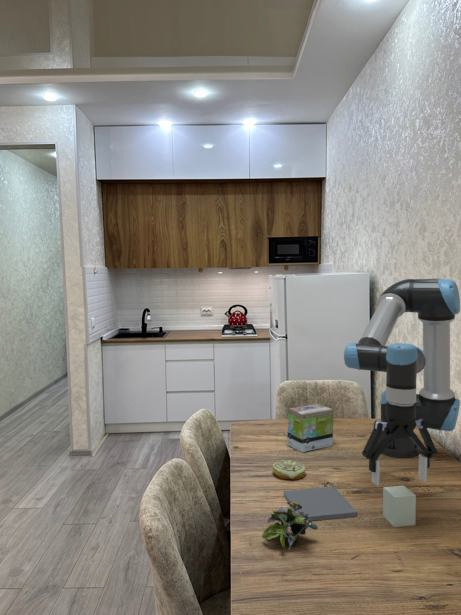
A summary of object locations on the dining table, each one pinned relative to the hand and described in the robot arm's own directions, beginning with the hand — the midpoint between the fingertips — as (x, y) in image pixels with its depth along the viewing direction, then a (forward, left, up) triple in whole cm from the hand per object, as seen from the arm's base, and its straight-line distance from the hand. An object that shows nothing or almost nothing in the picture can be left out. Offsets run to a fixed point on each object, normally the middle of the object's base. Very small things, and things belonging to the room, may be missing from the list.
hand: (399, 481), depth 125 cm
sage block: (0, 0, -11) cm, 11 cm away
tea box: (+4, -58, -11) cm, 59 cm away
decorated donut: (+20, -34, -11) cm, 41 cm away
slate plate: (+18, -12, -11) cm, 24 cm away
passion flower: (+32, +5, -11) cm, 34 cm away
